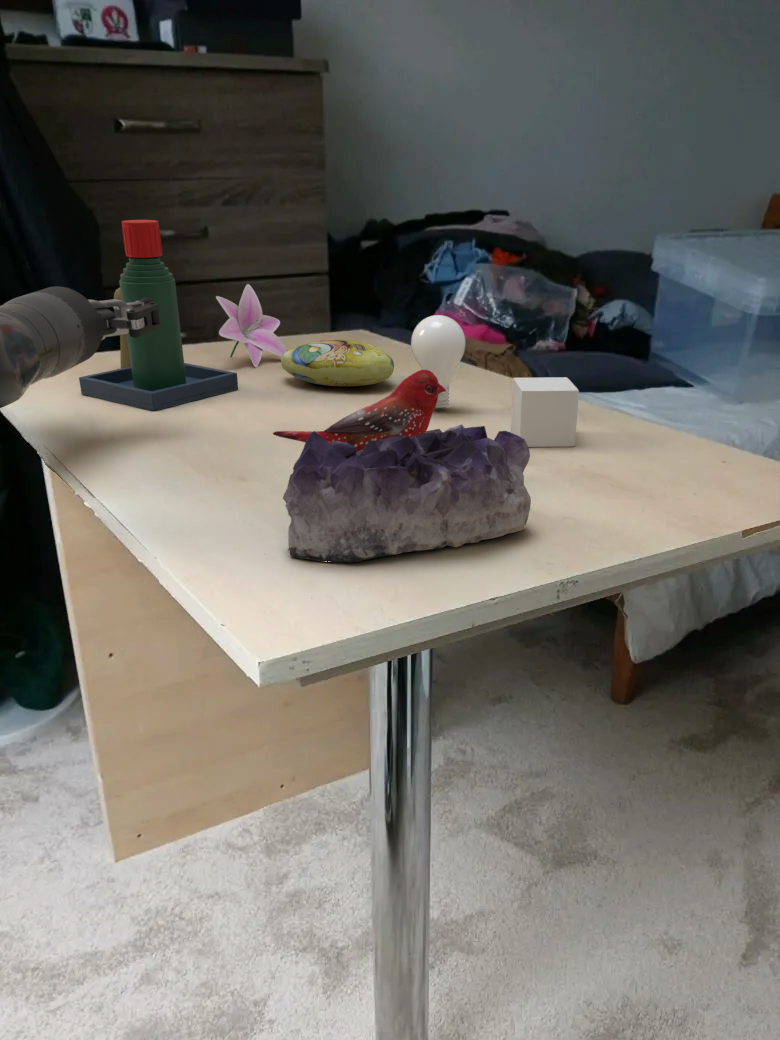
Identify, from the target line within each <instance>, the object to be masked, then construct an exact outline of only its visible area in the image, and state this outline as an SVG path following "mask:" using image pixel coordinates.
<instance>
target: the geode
mask: <svg viewBox="0 0 780 1040" xmlns="http://www.w3.org/2000/svg"><path fill="white" fill-rule="evenodd" d="M530 458H531V452H530V447H528V446H527V443H526V441H525V440H524V439H523V438H521V437H520V436H517V435H515V434H513V433H511V431H507V430H501V431H498V432H497V434H496V436H495V437H494V439H492V438H490V437H488V434H487V430H486V426H485V425H480V426H470V427H465V426H464V425H463V424H462V423H460V424H458V425H455V426H453V427H449V428H446V429H445V430H444V431H442V429H440V428H436V429H429V430H426V432H425V433H423V434H419V435H415V436H412V437H409V436H402V435H399V436H396V437H389V438H386V439H383V440H378V441H377V442H376V441H374V440H370V441H369V442H368V443H367V444H366V446H365V447H364V448H363V450H361V451H358V452H356V447H355V446H354V445H351V444H349V443H347V442H340V441H334V442H328V441H326V440H325V439H324V438H322V437H321V436H320V435H319V434H318V433H317V432H316V430H313V432H312V433H311V434H310V435H309V436H308V438H307V439H306V442H304V445H303V448H302V450H301V453H300V455H299V456H298V459H297V460H296V461H295V463H294V464H293V468H292V472H291V474H290V475H289V480H288V482H287V486H286V489H285V491H284V493H283V496H282V500H283V501H284V502H285V508H286V510H287V514H288V516H289V517H290V522H289V525H288V533H287V535H288V539H287V540H288V549H287V550H288V551H289V556H290V557H292V558H296V559H305V560H311V561H317V562H321V561H327V562H328V561H332V562H331V563H346V564H347V563H359V562H362V561H365V560H370V559H376V558H380V557H387V556H394V555H399V554H400V555H401V554H403V553H412V552H421V551H428V550H438V549H439V550H440V549H443V548H445V547H447V546H449V547H453V548H459V547H458V546H460V547H462V546H463V545H464V544H477V543H479V542H480V541H482V540H490V539H495V538H500V537H503V536H504V535H508V534H512V533H513V534H514V533H516V532H520V531H523V530H524V529H525V526H526V524H527V522H528V520H529V515H530V510H531V502H532V500H531V495H530V493H529V491H528V489H527V488H526V486H525V475H524V472H525V469H526V468H527V466H528V464H529V461H530Z"/></svg>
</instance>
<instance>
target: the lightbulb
mask: <svg viewBox="0 0 780 1040" xmlns="http://www.w3.org/2000/svg"><path fill="white" fill-rule="evenodd" d="M466 341H467V340H466V335H465V332H464V330H463V328H462V326H461V325H460V324H459V323H458V322H457V321H456V320H455V319H453V318H452V317H449V316H447V315H443V314H433V315H430V316H427V317H425V318H423V319H422V320H421V321H419V322H418V323H417V324H416V326H415V327H414V329H413V331H412V334H411V338H410V348H411V352H412V355H413V357H414V359H415V361H416V363H417V364H418V366H419V367H420V370H429V371H431V372H432V373H433V374H434V375H435V376H436V377H437V379H438V383H439V384H440V385H441V386H443V387H444V388H445V389H446V391H444V392H441V393H440V394H439V395H438V400H437V404H436V407H435V409H434V411H438V412H439V411H443V410H444V409H446V408H447V407H449V405H450V393H449V392H450V385H451V383H452V381H453V377H454V372H455V370H456V368H457V366H458V365H459V364H460V362H461V360H462V359H463V358H464V357H463V356H464V354H465V351H466V345H467V343H466Z"/></svg>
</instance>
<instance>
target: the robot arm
mask: <svg viewBox="0 0 780 1040" xmlns="http://www.w3.org/2000/svg"><path fill="white" fill-rule="evenodd" d="M108 308H113V311H112V310H110V309H108ZM131 309H132V310H131ZM159 328H161V323H160V314H159V306H158V303H155V302H153V300H152V298H142V299H140V300H138V301H135V302H129V303H125V302H124V301H122V300H118V299H114V298H113V299H105V300H95V299H88V298H87V297H85V295H82V294H81V293H80V292H78V291H76V290H74V289H72V288H69V287H66V286H49V287H46V288H43V289H40V290H37V291H33V292H29V293H27V294H24V295H21V296H18V297H13V298H12V299H10V300H8V301H7V302H5V303H3V304H1V305H0V409H1V408H4V407H6V406H9V405H11V404H13V403H15V402H17V401H18V400H20V399H21V398H22V397H23V396H24V395H25V393H26V392H27V390H28V389H29V388H30V387H31V385H34V384H36V383H38V382H40V381H42V380H46V379H49V378H54V377H56V376H58V375H60V374H62V373H64V372H66V371H68V370H70V369H72V368H74V367H76V366H78V365H80V364H82V363H84V362H86V361H88V360H89V359H91V358H92V357H93V356H94V355H95V354H96V352H97V351H98V350H99V347H100V346H101V343H102V341H103V340H105V339H106V338H109V337H116V336H120V335H123V334H127V333H128V332H129V336H130V337H133V338H138V337H140V336H143V335H145V334H147V333H150V332H152V331H154V330H156V329H159Z"/></svg>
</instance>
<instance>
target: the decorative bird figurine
mask: <svg viewBox="0 0 780 1040" xmlns="http://www.w3.org/2000/svg"><path fill="white" fill-rule="evenodd" d="M444 391H446V389H445V388H444V387H443V386H441V385H440V384H439V383H438V379H437V377H436V376H435V375H434V374H433V373H432V372H431V371H429V370H422V369H420V370H418V371H416V372H413V373H412V374H410V375H408V376H407V377H405V378H404V379H403V380H402V381H401V382H400V383H399V384H398V386H397V387H396V388H395V389H394V390H393V391H392V392H391V393H390V394H389V395H387V396H386V397H384V398H382V399H380V400H379V401H377V402H375V403H372V404H370V405H368V406H365V407H363V408H362V407H361V408H360V409H357V410H356V411H354V412H352V413H350V414H348V415H346V416H345V417H343V418H341V419H339V420H338V421H336V422H335V423H333V424H331V425H330V426H329V427H327V428H326V429H324V430H320V431H319V430H317V431H316V430H315V432H317V433H318V434H319V435H320V436H321V437H322V438H324V439H325V440H326V441H328V442H334V441H340V442H347V443H349V444H351V445H354V446H355V447H356V452H358V451H361V450H363V448H364V447H365V446H366V444H367V443H368V442H369V441H370V440H374V441H376V442H377V441H378V440H383V439H386V438H389V437H396V436H399V435H402V436H409V437H412V436H415V435H419V434H423V433H425V432H426V431H428V428H429V425H430V423H431V419H432V416H433V414H434V411H435V410H434V409H435V407H436V404H437V400H438V395H439V394H440V393H441V392H444ZM313 431H314V430H313ZM313 431H312V430H310V431H304V430H301V431H300V430H299V431H298V430H276V431H273V432H272V435H273V436H276V437H279V438H284V439H288V440H293V441H298V442H302V443H305V442H306V439H307V438H308V436H309V435H310V434H311V433H312V432H313Z"/></svg>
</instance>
